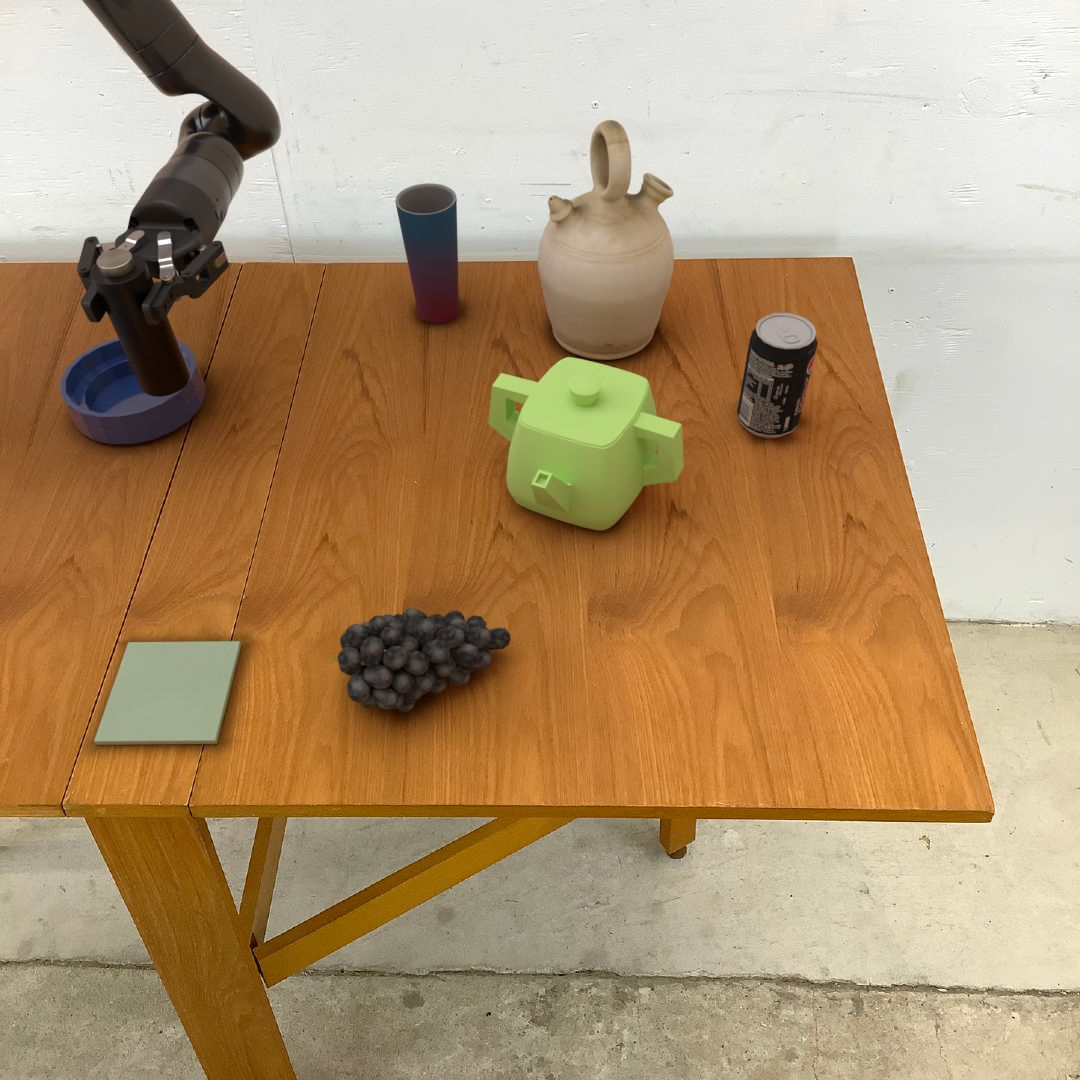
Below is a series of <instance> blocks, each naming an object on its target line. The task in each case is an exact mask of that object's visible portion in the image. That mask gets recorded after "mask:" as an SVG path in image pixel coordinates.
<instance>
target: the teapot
mask: <svg viewBox="0 0 1080 1080" xmlns="http://www.w3.org/2000/svg"><path fill="white" fill-rule="evenodd" d="M516 402H517V403H519V404H522V405H523V406H522V408H521V409H520V412H519V411H518V410H516V409H515V407H516V406H515V405H516V404H515V403H516ZM488 411H489V412H488V420H487V423H488V424H487V425H488V426H489V427H491V428H492V429H493V430H494V431H496V432H497V433H499V434H500V435H501V436H502V437H504V438H505V439H506V440H507V441H509V442H510V445H509V449H508V454H507V455H508V456H507V462H506V463H507V465H506V486H507V489H508V492H509V494H510V496H511V497H512V499H513V500H514V501H515V502H516V503H517V505H519V506H521V507H522V508H525V509H527V510H530V511H532V512H535V513H537V514H541V515H543V516H545V517H550V518H551V519H554V520H558V521H561V522H563V523H567V524H570V525H575V526H578V527H581V528H584V529H585V528H586V529H589V530H594V531H605V530H608V529H610V528H611V527H613V526H614V525H615V524H616V523H618V521H619V520H620V519H621V518H622V517H623V516H624V514H625V513H626V512H627V511H628V510H629V508H630V507H631V506H632V504H634V502H635V500H636V499H637V498H638V496H639V495H640V493H641V491H642V490H643V489H644V486H652V485H658V484H665V483H666V484H667V483H671V482H676V481H677V480H678V478H679V477H680V475H681V473H682V472H683V470H684V468H685V459H684V442H683V441H684V440H683V425H682V423H680V422H676V421H673V420H670V419H667V418H663V417H660V416H658V413H657V408H656V404H655V399H654V396H653V392H652V389H651V385H650V383H649V380H648V379H647V378H646V377H644V376H642V375H639V374H636V373H635V372H630V371H628V370H625V369H621V368H618V367H613V366H610V365H608V364H607V365H606V364H604V363H599V362H595V361H590V360H587V359H582V358H577V357H571V356H567V357H565V358H561V359H560V360H559V361H557V362H556V363H555V364H554V365H552V366H551V367H550V368H549V369H548V370H547V371H546V373H545V374H544V375H543V376H542V377H541V378H540V379H539V381H538V382H537V381H534V380H530V379H527V378H523V377H519V376H515V375H511V374H507V373H504V372H500V373H499V375H498V377H497V378H496V379H495V381H494V382H493V384H492V385H491V391H490V402H489V409H488Z"/></svg>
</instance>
